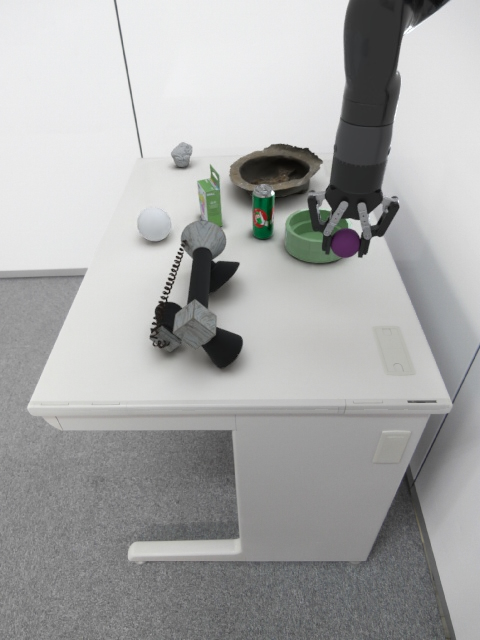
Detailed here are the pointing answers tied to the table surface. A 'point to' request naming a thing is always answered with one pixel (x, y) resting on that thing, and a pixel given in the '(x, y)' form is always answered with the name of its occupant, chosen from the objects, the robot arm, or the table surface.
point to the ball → (154, 223)
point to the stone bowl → (276, 169)
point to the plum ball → (345, 243)
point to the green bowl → (309, 236)
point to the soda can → (263, 211)
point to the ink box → (210, 198)
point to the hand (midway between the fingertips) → (343, 253)
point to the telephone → (198, 298)
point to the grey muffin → (182, 154)
